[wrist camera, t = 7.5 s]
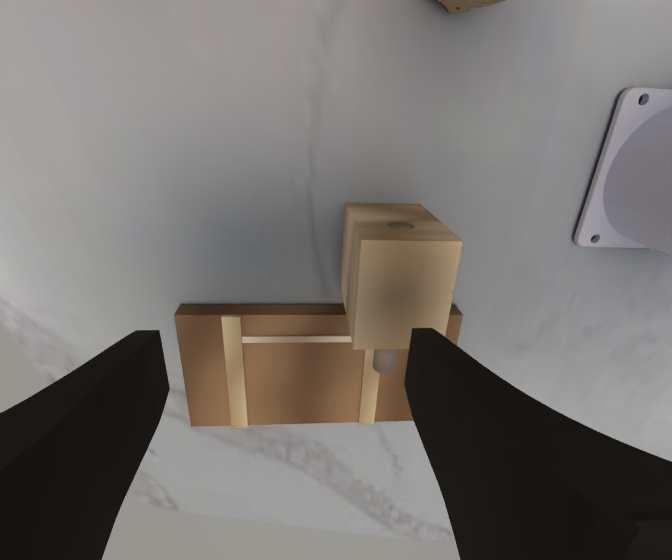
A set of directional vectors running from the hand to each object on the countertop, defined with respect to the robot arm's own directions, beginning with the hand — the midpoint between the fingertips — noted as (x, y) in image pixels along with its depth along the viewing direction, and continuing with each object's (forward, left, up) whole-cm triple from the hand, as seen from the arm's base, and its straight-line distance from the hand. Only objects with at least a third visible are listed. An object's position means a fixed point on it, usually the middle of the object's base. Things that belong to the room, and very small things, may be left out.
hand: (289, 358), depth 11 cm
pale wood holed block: (-5, +2, -10) cm, 12 cm away
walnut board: (-2, +8, -10) cm, 13 cm away
